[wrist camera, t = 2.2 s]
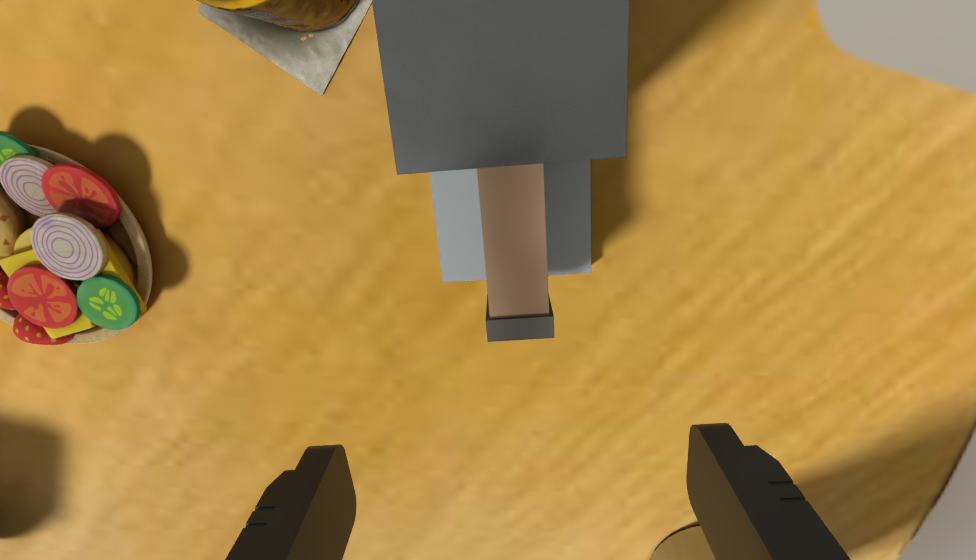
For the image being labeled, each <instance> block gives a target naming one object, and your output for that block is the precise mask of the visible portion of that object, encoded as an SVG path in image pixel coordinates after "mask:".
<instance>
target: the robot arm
mask: <svg viewBox="0 0 976 560" xmlns="http://www.w3.org/2000/svg"><path fill="white" fill-rule="evenodd" d="M687 490H688V495H689V499H690V503H691V506H692V508H693V511H694V513H695V515H696V517H697V520H698V522H699V524H700V526H696V527H691V528H688V529H685V530H683V531H680V532H678V533H676V534H674V535H672V536H671V537H669V538H668V539H666V540H665V541H664V542H663V543H661V544H660V545H659V546H658V548H657V549H656V550H655V551H654V552H653V554H652V556H651V558H650V560H850V558H849V557H848V556H847V554H846V553H845V552H844V550H843V549H842V547H841V546H840V545H839V543H838V542H837V541H836V539H835V538H834V536H833V535H832V534H831V532H830V531H829V530H828V528H827V527H826V526H825V524H824V523H823V521H822V520H821V519H820V517H819V516H818V515H817V513H816V512H815V510H814V509H813V508H812V506H811V505H810V504H809V502H808V501H805V497H804V495H803V494H802V493H801V491H800V490H799V489H798V487H797V486H796V485H794V484H793V480H792V479H791V478H790V476H789V475H788V474H787V472H786V471H785V469H784V468H783V467H782V465H781V464H780V463H779V461H777V460H776V459H775V458H773V457H772V456H771V455H769V454H768V453H767V452H765V451H764V450H762V449H761V448H760V447H758V446H757V445H753V446H744V445H743V444H742V442H741V441H740V439H739V438H738V436H737V435H736V433H735V432H734V430H733V429H732V427H731V426H730V425H729V424H727V423H717V424H700V425H692V426H691V428H690V434H689V449H688V464H687ZM355 515H356V495H355V490H354V486H353V482H352V478H351V474H350V469H349V465H348V461H347V457H346V453H345V449H344V447H343V446H342V445H323V446H310V447H308V448H307V449H306V450H305V452H304V454H303V456H302V457H301V459H300V461H299V463H298V465H297V467H296V469H295V470H287V471H284V472H283V473H282V474H281V475H280V476H279V477H278V478H276V479H275V480H274V481H273V482H272V483H271V484H270V485H269V486H268V487H267V488H266V490H265V491H264V493H263V495H262V497H261V498H260V500H259V502H258V504H257V505H256V507H255V511H253V512H252V514H251V516H250V517H249V519H248V521H247V523H246V528H243V530H242V531H241V533H240V535H239V537H238V538H237V540H236V542H235V544H234V545H233V547H232V549H231V551H230V552H229V554H228V556H227V558H226V559H225V560H342V558H343V555H344V552H345V549H346V546H347V543H348V540H349V537H350V534H351V531H352V528H353V525H354V521H355Z"/></svg>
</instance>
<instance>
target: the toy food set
mask: <svg viewBox="0 0 976 560" xmlns="http://www.w3.org/2000/svg"><path fill="white" fill-rule="evenodd" d="M151 286H152V261H151V255H150V251H149V247H148V244H147V241H146V238H145V236H144V233H143V231H142V229H141V227H140V225H139V223H138V221H137V220H136V218H135V216H134V215H133V213H132V212H131V210H130V209H129V207H128V206H127V205H126V204H125V202H124V201H123V200H122V199H121V197H120V196H119V195H118V194H117V193H116V192H115V191H114V189H113V188H112V187H111V186H110V184H109V183H108V182H106V181H105V180H104V179H103V178H102V177H101V176H99V175H98V174H97V173H96V172H94V171H92V170H90V169H88V168H86V167H85V166H83V165H81V164H80V163H78V162H76V161H74V160H73V159H71V158H69V157H67V156H64V155H62V154H60V153H57V152H55V151H52V150H49V149H46V148H43V147H39V146H35V145H30V144H26V143H25V142H24V141H22V140H20V139H19V138H17V137H15V136H13V135H11V134H9V133H6V132H2V131H0V319H1V320H3V321H5V322H6V323H8V324H10V325H11V326H13V332H14V334H15V335H16V336H17V337H18V338H19V339H21V340H23V341H25V342H29V343H33V344H42V345H58V344H64V343H67V344H88V343H94V342H99V341H103V340H106V339H109V338H111V337H114V336H116V335H118V334H119V333H121V332H123V331H124V330H125V329H127V328H128V327H129V326H131V325H132V324H133V323H134V322H135V321H136V320H137V319H138V317H139V315H140V314H142V313H144V312H145V311H146V310H147V307H146V304H147V301H148V299H149V295H150V292H151Z"/></svg>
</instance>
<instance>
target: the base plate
mask: <svg viewBox="0 0 976 560" xmlns="http://www.w3.org/2000/svg"><path fill="white" fill-rule="evenodd" d="M543 171H544V196H545V221H546V246H547V271H548V276H549V275H564V274H579V273H591V167H590V160H580V161H567V162H554V163H543ZM429 173H430V181H431V189H432V198H433V206H434V214H435V222H436V231H437V239H438V247H439V256H440V264H441V272H442V280H443V282H458V281H473V280H486V269H485V257H484V246H483V234H482V223H481V211H480V200H479V188H478V177H477V168H476V169H463V170H450V171H437V172H429Z"/></svg>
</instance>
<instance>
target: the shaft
mask: <svg viewBox="0 0 976 560" xmlns="http://www.w3.org/2000/svg"><path fill="white" fill-rule="evenodd" d="M477 177H478V188H479V200H480V211H481V223H482V234H483V246H484V257H485V269H486V280H487V292H488V294H487V310H486V328H487V339H488V342H492V341H509V340H526V339H542V338H554V316H553V311H552V307H551V302H550V298H549V293H548V271H547V246H546V221H545V196H544V171H543V163H541V164H528V165H515V166H502V167H489V168H477Z"/></svg>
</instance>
